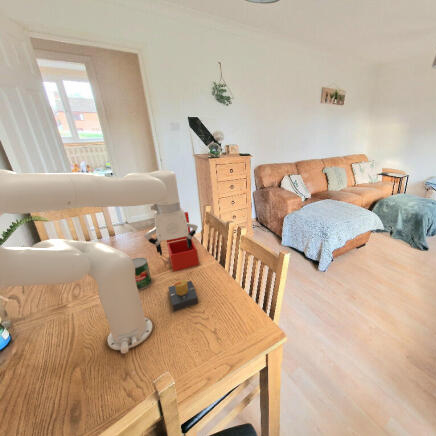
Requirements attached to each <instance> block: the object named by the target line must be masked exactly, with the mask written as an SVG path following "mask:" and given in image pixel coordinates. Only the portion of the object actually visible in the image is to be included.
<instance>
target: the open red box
mask: <svg viewBox="0 0 436 436" xmlns="http://www.w3.org/2000/svg"><path fill="white" fill-rule="evenodd" d="M191 240H192V245H191V249H189V248H188V246H187V239H182V240H177V241H172V242H166V246H167V251H168V257H169V260H170V264H171V268H172V271H173V272H177V271H181V270H184V269H188V268H192V267H196V266H199V265H200V263H199V255H198V254H199V253H198V250H197V247H196V245H195V243H194V241H193V238H192V239H191Z"/></svg>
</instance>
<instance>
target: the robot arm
mask: <svg viewBox="0 0 436 436" xmlns="http://www.w3.org/2000/svg"><path fill="white" fill-rule="evenodd" d="M178 189H179V188H178V182H177V176H176V173H175V172H174V171H173V170H167V169H161V170H159V169H158V170H154V171H151V172H132V173H128V174H126V175H125V176H123V177H112V176H110V177H109V176H104V175H98V174H93V173H85V172H84V173H83V172H67V173H66V172H63V173H62V172H61V173H60V172H57V173H54V172H51V173H49V172H48V173H39V172H38V173H37V172H35V173H34V172H33V173H30V172H29V173H27V172H26V173H24V172H23V173H18V172H14V171H12V170H8V169H0V217H2V216H3V215H4V214H9V215H24V214H26V215H27V214H34V213H35V214H36V213H44V212H52V211H63V210H69V209H81V208H110V207H111V208H112V207H113V208H115V207H116V208H117V207H120V208H121V207H137V206H146V205H149V206H150V210H151V211H154V214H153V221H154V228H152V229H151V230H148V231H147V232H145V233H144V235H143V236H144V238H145V239H146V240H147V241H148V242H149V243H150V244H153V245H154V246H155V248H156V253H157V254H158V253H159V256H162V255H163V250H162V245H161V242H165V241H166V240H171V239H176V238H181V237H185V236H186V239H187V246H188V248H189V249H191V245H192V241H193V237H194V236H195V235H196V232H197V230H198V228H199V226H198V224H194V223H190V222H189V223H187V221H186V217H185V213H184V212H185V211H184V208H182V207H181V202H180V197H179V190H178ZM188 227H190V229H191V230H190V233H189V232H188ZM153 235H156V237H155V238H154V237H152V236H153ZM191 239H192V240H191ZM166 242H167V241H166ZM132 259H133V258H131V257H130V256H129V255H128V254H127V253H125V252H123V251H121V250H120V249H117V248H115V247H112V246H110V245H109V244H106V243H103V242H97V241H87V240H86V241H85V240H74V239H73V240H72V239H62V238H61V239H60V238H53V239H52V238H51V239H45V240H42V241H39V242H37V243H35V244H33V245H32V246H30V247H25V246H9V247H5V246H2V245H0V288H2V287H6V288H7V287H32V286H52V285H53V286H55V285H56V286H59V285H69V284H73V283H77V282H79V281H81V280H82V279H84V278H85V277H86V276H89V277H91V278H92V279H93V280H94V281H95V282H96V284H97V287H98V288H97V289H98V291H97V292H98V293H97V294H98V299H99V301H100V305H101V307H102V310H103V314H104V316H105V319H106V321H107V325H108V327H109V330H110V332H109V334H108V336H107V339H106V341H107V345H108V347H109V348H110V349H112V350H115V351H120V353H121V354H127V353H128V352H129V349H131V348H134V347H137V346H138V345H141V343H143V342H144V341H145V340H146V339H147V338H148V337H150V335H151V334H152V331H153V329H154V328H153V326H154V325H153V322H152V320H151V319H149V318H147V317H145V312H144V309H143V305H142V300H141V296H140V293H139V290H138V289H137V285H136V280H135V265H134V262H133V260H132Z"/></svg>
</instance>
